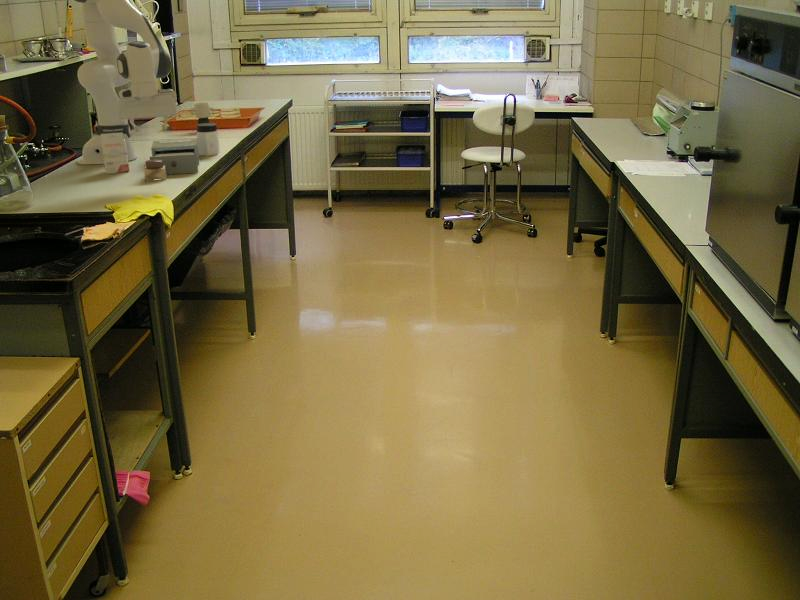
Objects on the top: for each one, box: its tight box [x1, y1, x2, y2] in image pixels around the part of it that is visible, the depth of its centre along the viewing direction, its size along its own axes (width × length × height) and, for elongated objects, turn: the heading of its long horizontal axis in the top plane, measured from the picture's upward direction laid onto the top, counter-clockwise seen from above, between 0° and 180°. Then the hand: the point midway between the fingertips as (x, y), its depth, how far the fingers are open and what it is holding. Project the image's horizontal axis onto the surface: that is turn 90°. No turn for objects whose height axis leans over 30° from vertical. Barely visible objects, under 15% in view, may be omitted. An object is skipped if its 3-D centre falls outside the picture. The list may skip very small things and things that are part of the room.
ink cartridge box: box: [100, 132, 130, 174], centre depth 319 cm, size 9×5×15 cm, turn 105°
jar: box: [195, 122, 221, 157], centre depth 349 cm, size 9×8×12 cm
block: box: [143, 165, 167, 181], centre depth 307 cm, size 7×7×4 cm
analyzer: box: [150, 138, 200, 166], centre depth 334 cm, size 17×16×8 cm
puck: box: [145, 159, 163, 169], centre depth 306 cm, size 6×6×2 cm
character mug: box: [190, 102, 215, 124], centre depth 404 cm, size 11×7×13 cm, turn 92°
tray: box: [149, 152, 199, 175], centre depth 320 cm, size 17×17×7 cm
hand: (150, 130), depth 302 cm, fingers open, 8 cm apart
